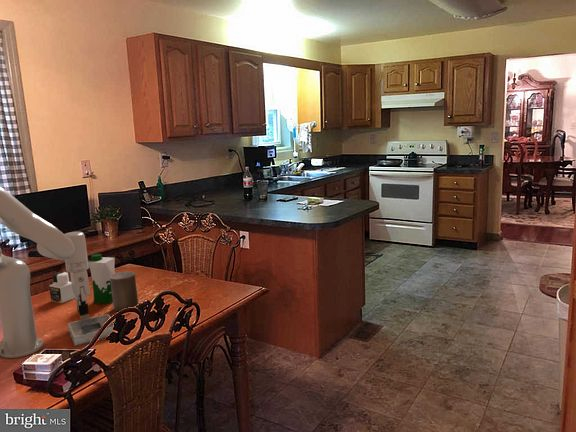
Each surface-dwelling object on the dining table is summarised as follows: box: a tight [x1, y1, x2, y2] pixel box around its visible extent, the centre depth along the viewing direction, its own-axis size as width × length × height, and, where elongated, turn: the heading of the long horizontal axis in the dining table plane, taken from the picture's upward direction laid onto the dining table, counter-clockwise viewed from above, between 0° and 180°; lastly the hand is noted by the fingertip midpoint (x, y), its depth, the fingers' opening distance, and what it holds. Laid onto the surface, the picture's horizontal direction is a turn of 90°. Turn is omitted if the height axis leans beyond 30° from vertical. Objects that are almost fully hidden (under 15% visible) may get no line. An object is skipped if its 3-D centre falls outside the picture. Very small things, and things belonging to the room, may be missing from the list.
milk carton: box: [88, 253, 116, 305], centre depth 194 cm, size 9×9×20 cm
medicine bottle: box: [48, 271, 76, 304], centre depth 198 cm, size 7×7×12 cm
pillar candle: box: [110, 271, 139, 312], centre depth 187 cm, size 10×10×15 cm
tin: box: [67, 313, 115, 348], centre depth 164 cm, size 14×14×4 cm
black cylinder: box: [74, 295, 91, 320], centre depth 171 cm, size 3×3×12 cm
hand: (83, 312), depth 172 cm, fingers closed on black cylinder, 3 cm apart
